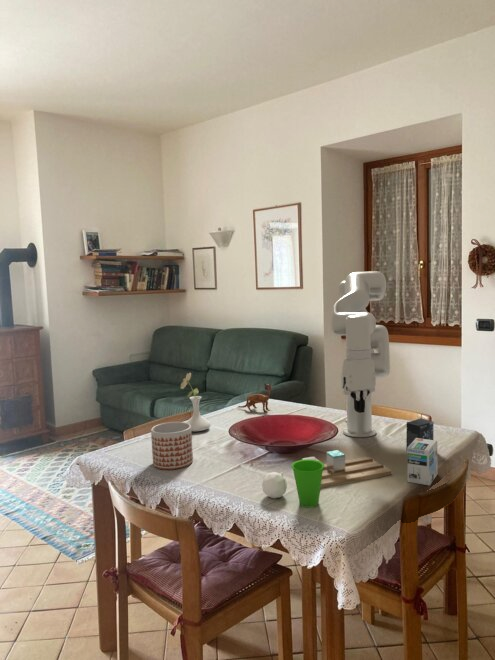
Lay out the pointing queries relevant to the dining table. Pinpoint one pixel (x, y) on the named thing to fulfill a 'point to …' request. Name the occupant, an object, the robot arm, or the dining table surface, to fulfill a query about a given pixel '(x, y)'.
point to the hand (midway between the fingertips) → (359, 411)
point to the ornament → (274, 485)
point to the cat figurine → (259, 399)
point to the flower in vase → (195, 409)
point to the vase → (172, 445)
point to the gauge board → (353, 471)
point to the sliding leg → (335, 461)
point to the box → (419, 430)
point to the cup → (308, 481)
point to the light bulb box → (422, 461)
